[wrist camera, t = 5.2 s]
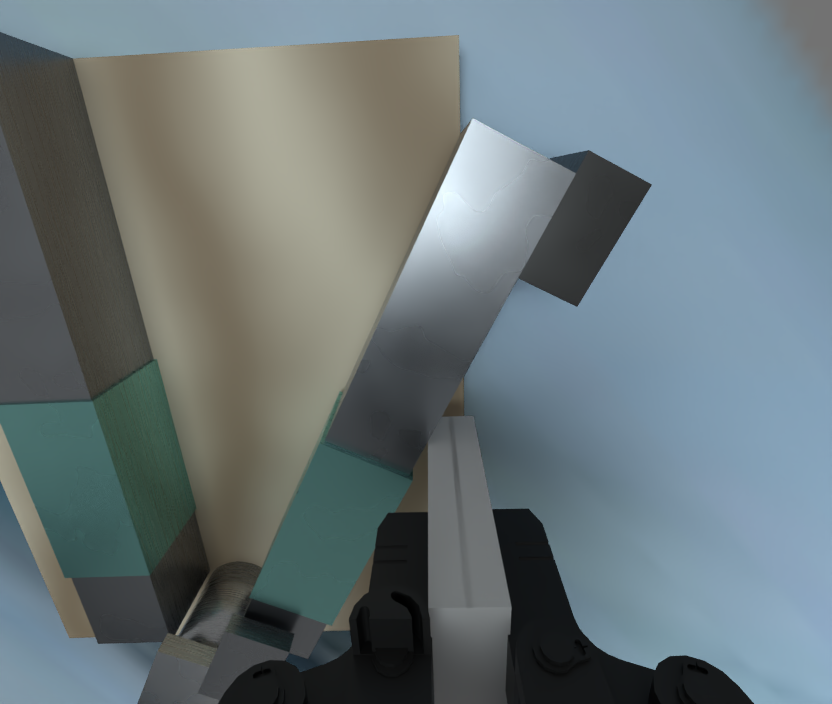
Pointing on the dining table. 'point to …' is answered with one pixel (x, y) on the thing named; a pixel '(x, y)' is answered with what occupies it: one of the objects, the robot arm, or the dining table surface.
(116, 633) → the teal-banded grey bar
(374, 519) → the tongs arm
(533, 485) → the dining table surface
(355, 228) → the board
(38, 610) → the dining table surface
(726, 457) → the dining table surface
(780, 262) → the dining table surface
